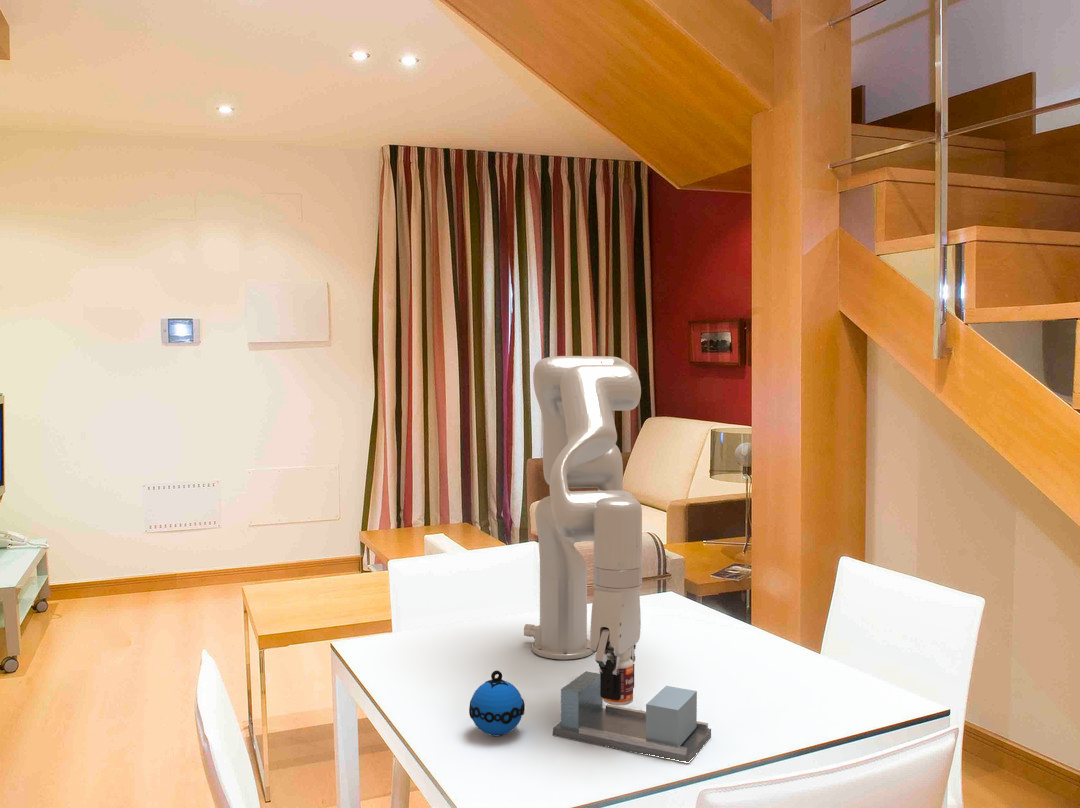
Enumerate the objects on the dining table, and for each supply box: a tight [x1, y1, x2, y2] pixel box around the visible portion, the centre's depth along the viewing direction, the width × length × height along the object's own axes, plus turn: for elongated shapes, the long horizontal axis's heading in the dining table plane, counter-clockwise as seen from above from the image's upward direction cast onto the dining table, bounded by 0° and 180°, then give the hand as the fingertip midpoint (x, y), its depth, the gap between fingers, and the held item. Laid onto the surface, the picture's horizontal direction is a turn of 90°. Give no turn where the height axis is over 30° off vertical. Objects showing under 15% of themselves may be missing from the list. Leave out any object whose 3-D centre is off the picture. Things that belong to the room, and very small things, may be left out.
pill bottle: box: [603, 648, 635, 706], centre depth 142 cm, size 5×5×8 cm
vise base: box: [552, 670, 712, 762], centre depth 141 cm, size 22×11×7 cm, turn 62°
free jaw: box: [645, 685, 698, 746], centre depth 138 cm, size 5×9×6 cm, turn 152°
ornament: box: [468, 670, 526, 737], centre depth 142 cm, size 9×9×10 cm
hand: (617, 691), depth 142 cm, fingers closed on pill bottle, 4 cm apart
